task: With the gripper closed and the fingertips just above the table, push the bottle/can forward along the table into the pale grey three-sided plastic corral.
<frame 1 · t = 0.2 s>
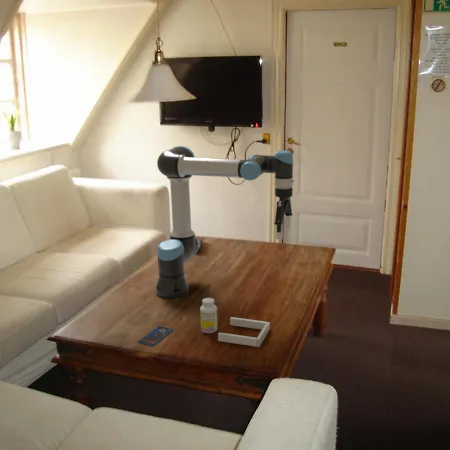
hand: (283, 234, 256), 28 cm above the table, fingers open, 13 cm apart
corral: (243, 334, 225), on the table
supplement bottle: (209, 330, 230), on the table
smartphone: (156, 337, 226), on the table
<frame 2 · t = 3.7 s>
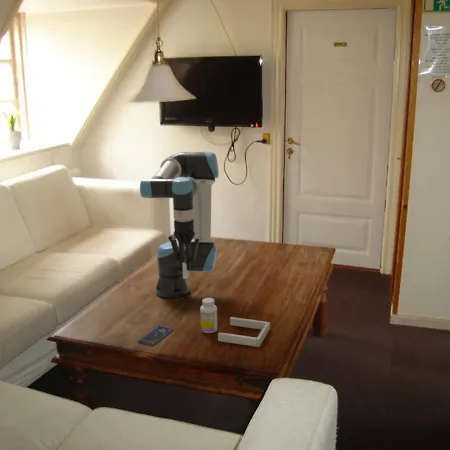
hand: (186, 277, 227), 21 cm above the table, fingers closed
nothing on the table moved.
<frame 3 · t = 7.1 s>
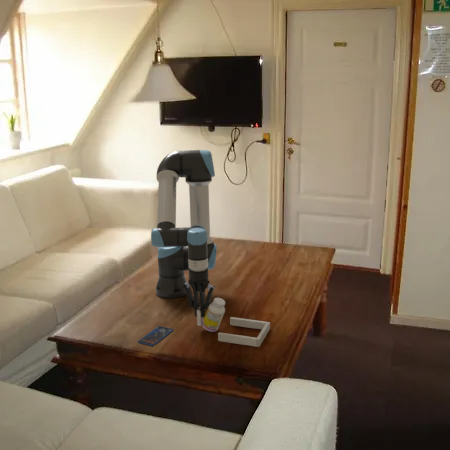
hand: (200, 324, 230), 2 cm above the table, fingers closed
supplement bottle: (209, 327, 230), point 1 cm above the table
everything else where it was.
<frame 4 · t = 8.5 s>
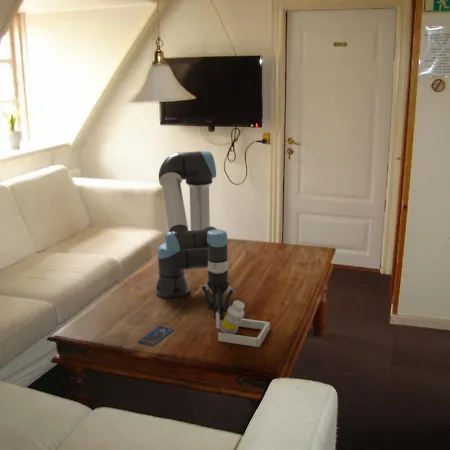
hand: (219, 326, 228), 2 cm above the table, fingers closed
supplement bottle: (227, 330, 227), point 1 cm above the table, touching gripper, hand
everything else where it was.
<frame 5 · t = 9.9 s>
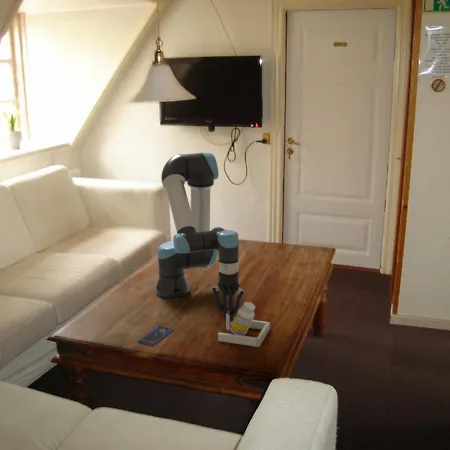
hand: (228, 328, 226), 2 cm above the table, fingers closed
supplement bottle: (237, 331, 225), point 1 cm above the table, touching gripper, hand
everything else where it was.
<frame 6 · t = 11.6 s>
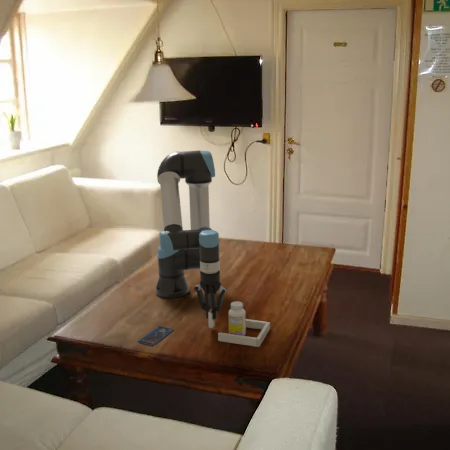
hand: (211, 326, 230), 2 cm above the table, fingers closed
supplement bottle: (237, 334, 226), on the table
everything else where it was.
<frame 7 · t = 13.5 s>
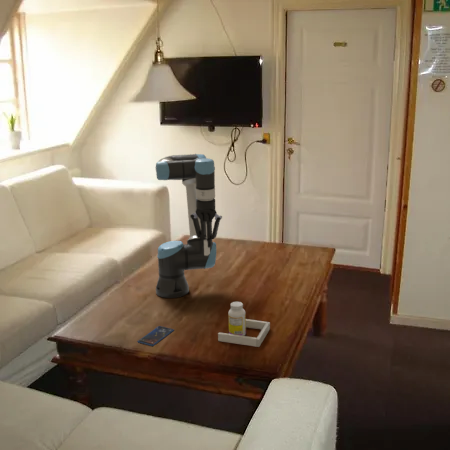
hand: (207, 254, 236), 27 cm above the table, fingers closed
nothing on the table moved.
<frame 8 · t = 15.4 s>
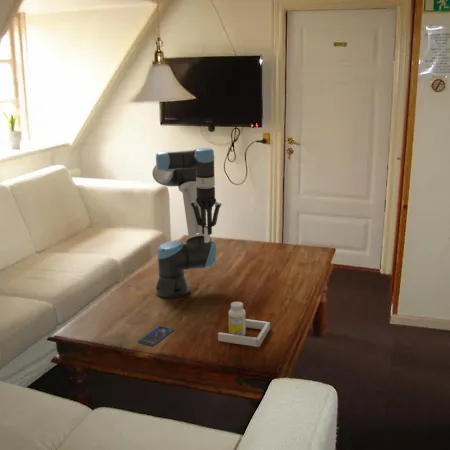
hand: (207, 241, 243), 29 cm above the table, fingers closed
nothing on the table moved.
at the end: supplement bottle inside the target area (2.3 cm from its centre), on the table; supplement bottle moved 11.8 cm from its start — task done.
